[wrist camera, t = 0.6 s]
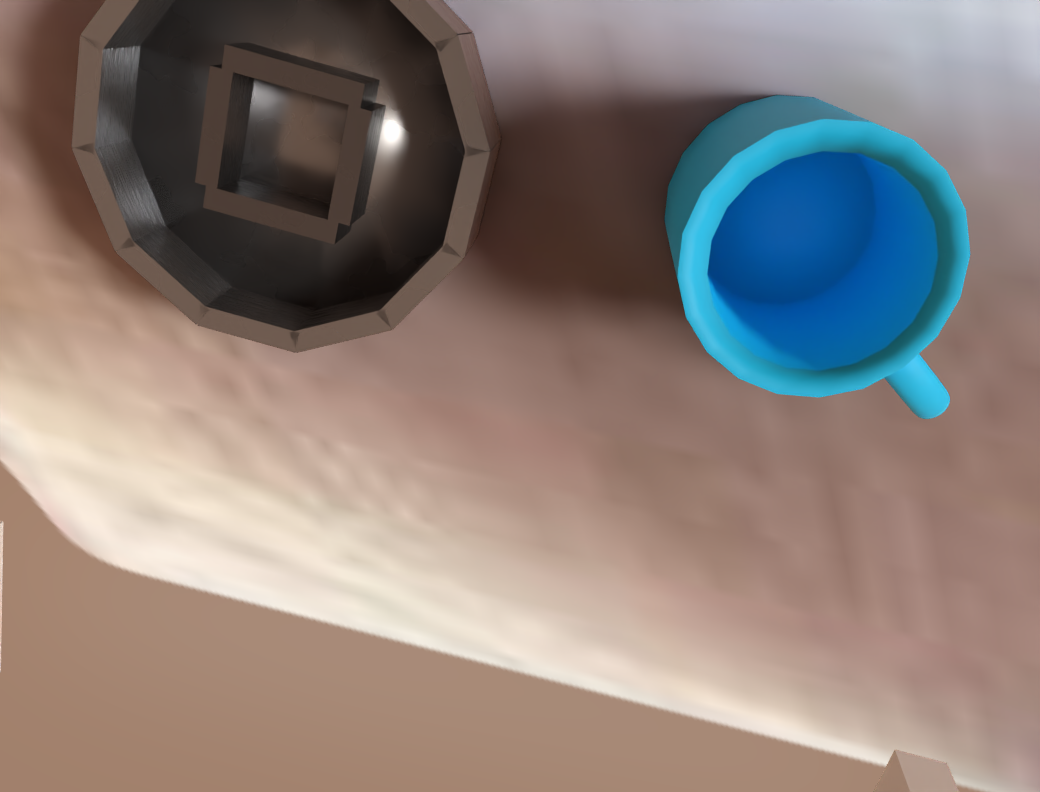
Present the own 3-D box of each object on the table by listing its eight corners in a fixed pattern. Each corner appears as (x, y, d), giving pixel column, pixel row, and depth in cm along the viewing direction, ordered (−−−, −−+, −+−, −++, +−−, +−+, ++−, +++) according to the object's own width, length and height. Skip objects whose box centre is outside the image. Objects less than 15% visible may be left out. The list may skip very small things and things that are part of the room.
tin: (144, -122, 33) (93, -136, 30) (538, -10, 33) (529, -12, 30) (107, 263, 38) (60, 287, 35) (446, 358, 38) (431, 390, 35)
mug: (618, 199, 35) (620, 250, 28) (803, 43, 33) (858, 52, 25) (813, 429, 38) (861, 531, 31) (997, 300, 36) (1100, 378, 28)
